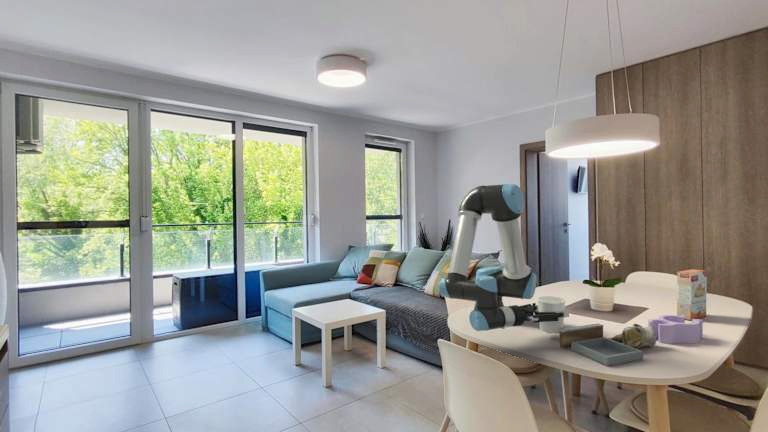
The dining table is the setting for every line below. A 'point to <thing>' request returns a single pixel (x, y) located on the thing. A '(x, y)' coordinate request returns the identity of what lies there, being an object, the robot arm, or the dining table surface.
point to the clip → (676, 329)
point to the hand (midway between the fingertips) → (559, 309)
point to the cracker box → (691, 293)
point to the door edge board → (579, 334)
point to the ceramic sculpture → (637, 336)
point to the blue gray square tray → (607, 351)
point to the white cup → (550, 306)
